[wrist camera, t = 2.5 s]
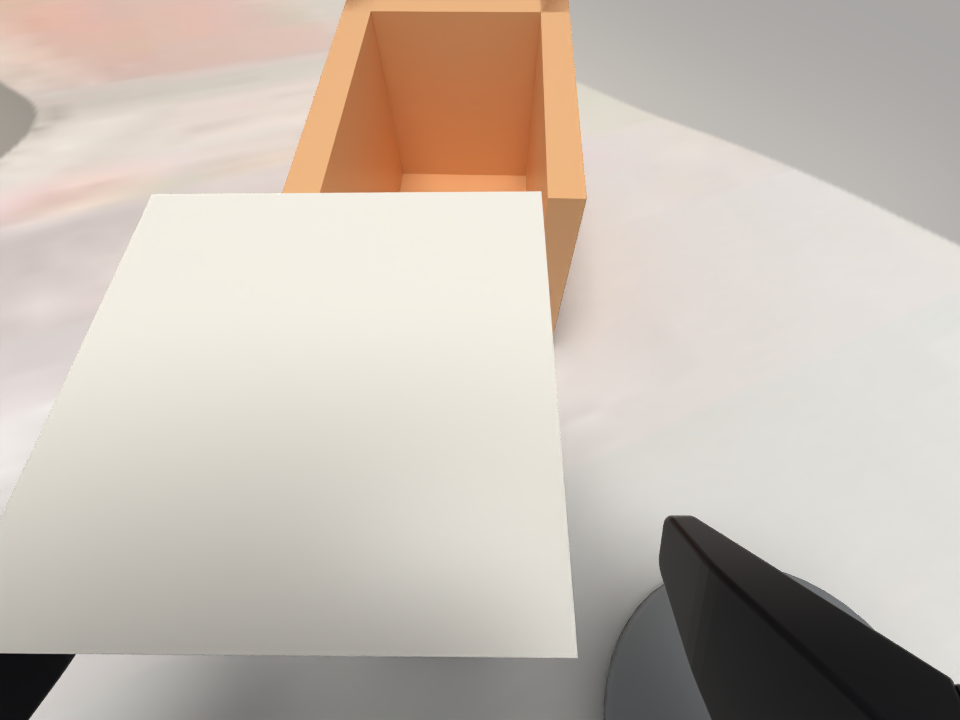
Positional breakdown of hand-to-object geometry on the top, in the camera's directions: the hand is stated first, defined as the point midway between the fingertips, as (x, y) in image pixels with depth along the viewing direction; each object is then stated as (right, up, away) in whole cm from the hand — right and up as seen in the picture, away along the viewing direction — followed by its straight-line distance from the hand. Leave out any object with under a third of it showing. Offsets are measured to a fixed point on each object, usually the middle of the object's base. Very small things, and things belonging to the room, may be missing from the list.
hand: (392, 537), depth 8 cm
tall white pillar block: (0, -3, +8) cm, 9 cm away
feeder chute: (+1, +8, +14) cm, 16 cm away
